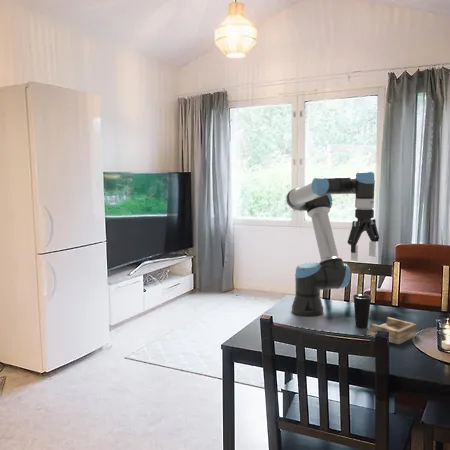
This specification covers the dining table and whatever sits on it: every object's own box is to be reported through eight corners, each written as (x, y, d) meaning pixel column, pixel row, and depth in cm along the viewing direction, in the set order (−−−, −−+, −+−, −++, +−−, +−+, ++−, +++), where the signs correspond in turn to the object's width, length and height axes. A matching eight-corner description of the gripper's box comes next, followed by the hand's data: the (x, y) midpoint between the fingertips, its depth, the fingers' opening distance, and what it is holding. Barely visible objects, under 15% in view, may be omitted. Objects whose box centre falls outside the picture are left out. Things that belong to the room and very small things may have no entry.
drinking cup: (371, 330, 192) (373, 284, 190) (353, 329, 193) (354, 283, 191) (369, 324, 199) (370, 280, 197) (351, 323, 201) (352, 279, 199)
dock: (366, 335, 187) (367, 323, 186) (385, 327, 196) (385, 316, 195) (398, 344, 176) (398, 332, 175) (416, 336, 185) (416, 324, 184)
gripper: (355, 210, 180) (354, 263, 182) (388, 207, 196) (387, 255, 198) (339, 209, 185) (338, 260, 188) (372, 206, 202) (371, 253, 204)
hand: (363, 258), depth 193 cm, fingers open, 13 cm apart
